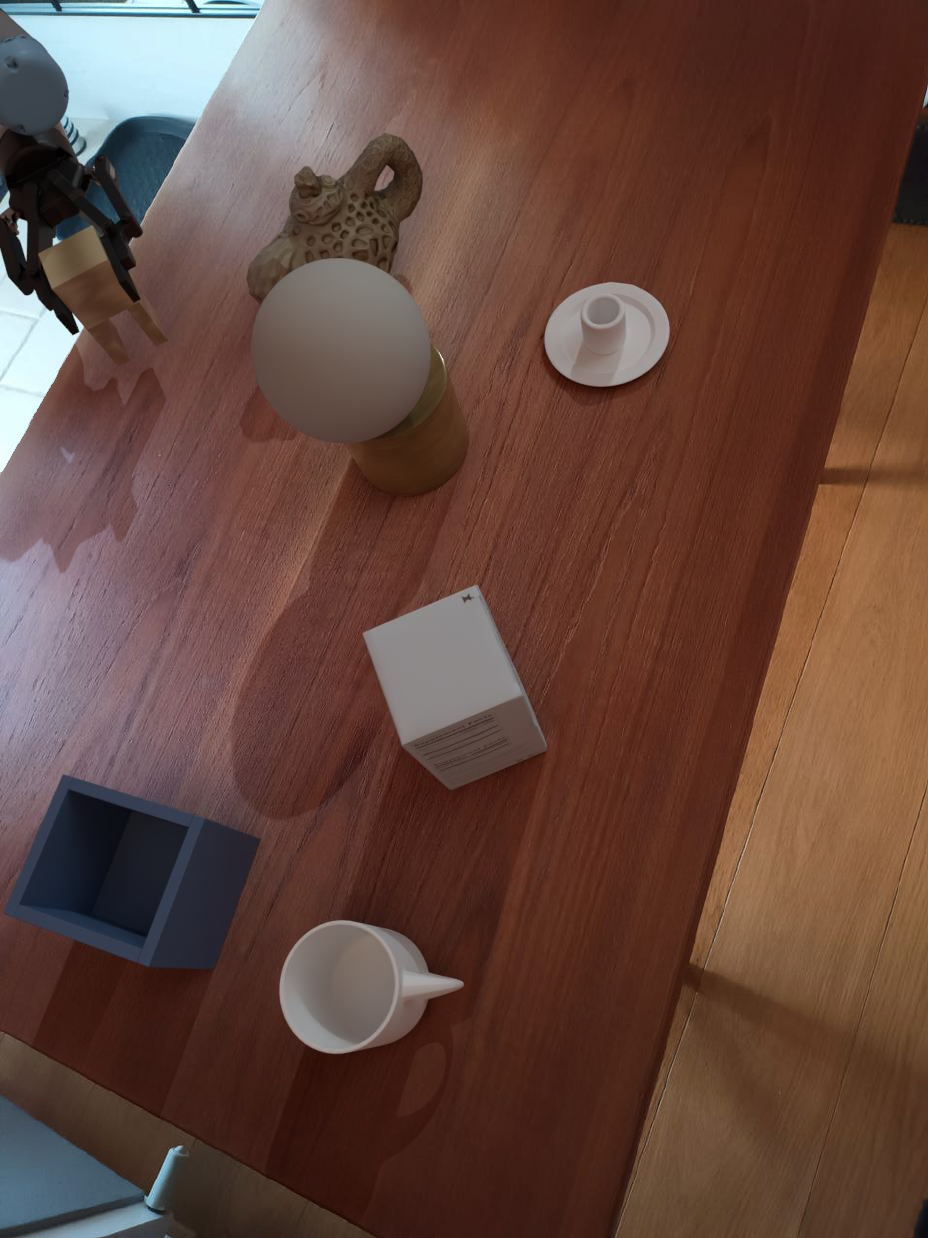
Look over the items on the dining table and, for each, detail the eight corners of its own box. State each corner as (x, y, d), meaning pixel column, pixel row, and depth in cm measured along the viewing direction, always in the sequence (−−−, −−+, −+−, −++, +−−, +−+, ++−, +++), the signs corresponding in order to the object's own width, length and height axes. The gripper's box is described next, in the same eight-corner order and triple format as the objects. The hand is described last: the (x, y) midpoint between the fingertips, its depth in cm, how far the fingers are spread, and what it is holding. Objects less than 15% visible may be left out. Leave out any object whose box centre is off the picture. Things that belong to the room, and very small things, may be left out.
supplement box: (412, 694, 84) (356, 627, 68) (509, 653, 83) (475, 577, 68) (449, 795, 80) (399, 749, 64) (551, 752, 79) (525, 695, 64)
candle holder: (620, 267, 96) (619, 236, 92) (695, 344, 91) (696, 314, 87) (521, 332, 95) (515, 304, 91) (591, 412, 90) (588, 386, 86)
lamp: (418, 555, 88) (333, 405, 65) (301, 494, 93) (184, 334, 70) (503, 427, 92) (451, 241, 69) (386, 375, 96) (300, 184, 73)
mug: (475, 1046, 73) (446, 1056, 63) (324, 1044, 75) (274, 1053, 65) (475, 928, 76) (448, 919, 66) (330, 929, 78) (283, 920, 68)
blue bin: (83, 922, 82) (2, 913, 72) (133, 799, 85) (62, 773, 75) (214, 969, 78) (148, 967, 68) (261, 838, 82) (205, 818, 71)
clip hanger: (118, 366, 99) (51, 288, 88) (105, 333, 101) (37, 253, 90) (168, 340, 99) (107, 259, 88) (153, 308, 101) (92, 224, 90)
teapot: (308, 374, 98) (251, 274, 85) (248, 312, 103) (185, 207, 89) (466, 248, 100) (435, 131, 86) (400, 193, 105) (361, 73, 91)
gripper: (134, 142, 101) (206, 287, 92) (-22, 225, 101) (33, 379, 92) (97, 80, 94) (169, 230, 85) (-71, 169, 94) (-17, 329, 85)
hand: (99, 307), depth 89 cm, fingers closed on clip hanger, 6 cm apart
